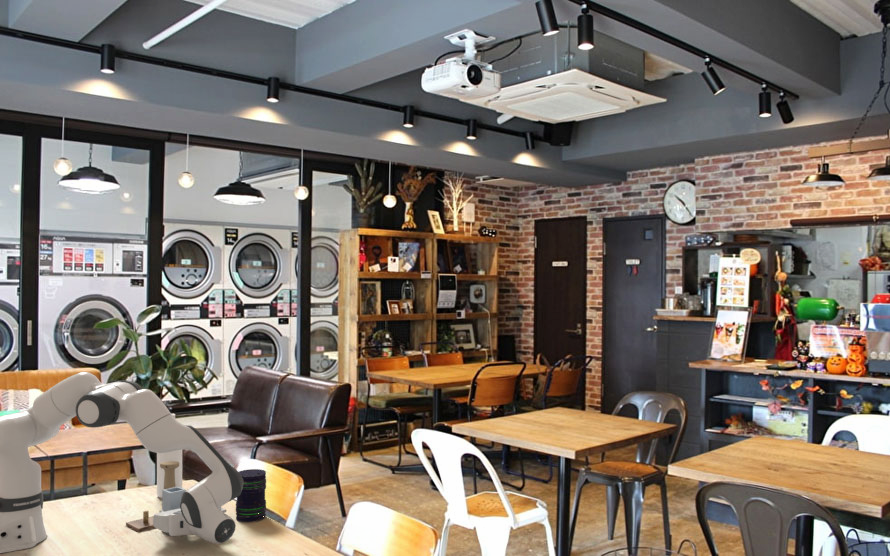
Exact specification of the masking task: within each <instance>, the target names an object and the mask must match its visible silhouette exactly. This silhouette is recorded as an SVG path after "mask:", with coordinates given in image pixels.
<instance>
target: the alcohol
mask: <svg viewBox="0 0 890 556" xmlns="http://www.w3.org/2000/svg"><path fill="white" fill-rule="evenodd" d="M171 415H172V416H173V417H174V418H175V419H176V414H175V413H171ZM176 420H177V419H176ZM168 461H176V462H179V467H177V468H176V469H175V487H180V488H183V450H177V451H172V452H167V453H156V495H157V497H158V498H159V499H162V490H164V476H165V471H164V469H163V468H161V467H160V463H162V462H168Z"/></svg>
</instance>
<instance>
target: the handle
mask: <svg viewBox="0 0 890 556" xmlns="http://www.w3.org/2000/svg"><path fill="white" fill-rule="evenodd" d="M160 467H161V468H163V469H164V471H165V476H164V489H169V488H174V487H175V469H176V468H177V467H179V462H176V461H168V462H162V463H160Z"/></svg>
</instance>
